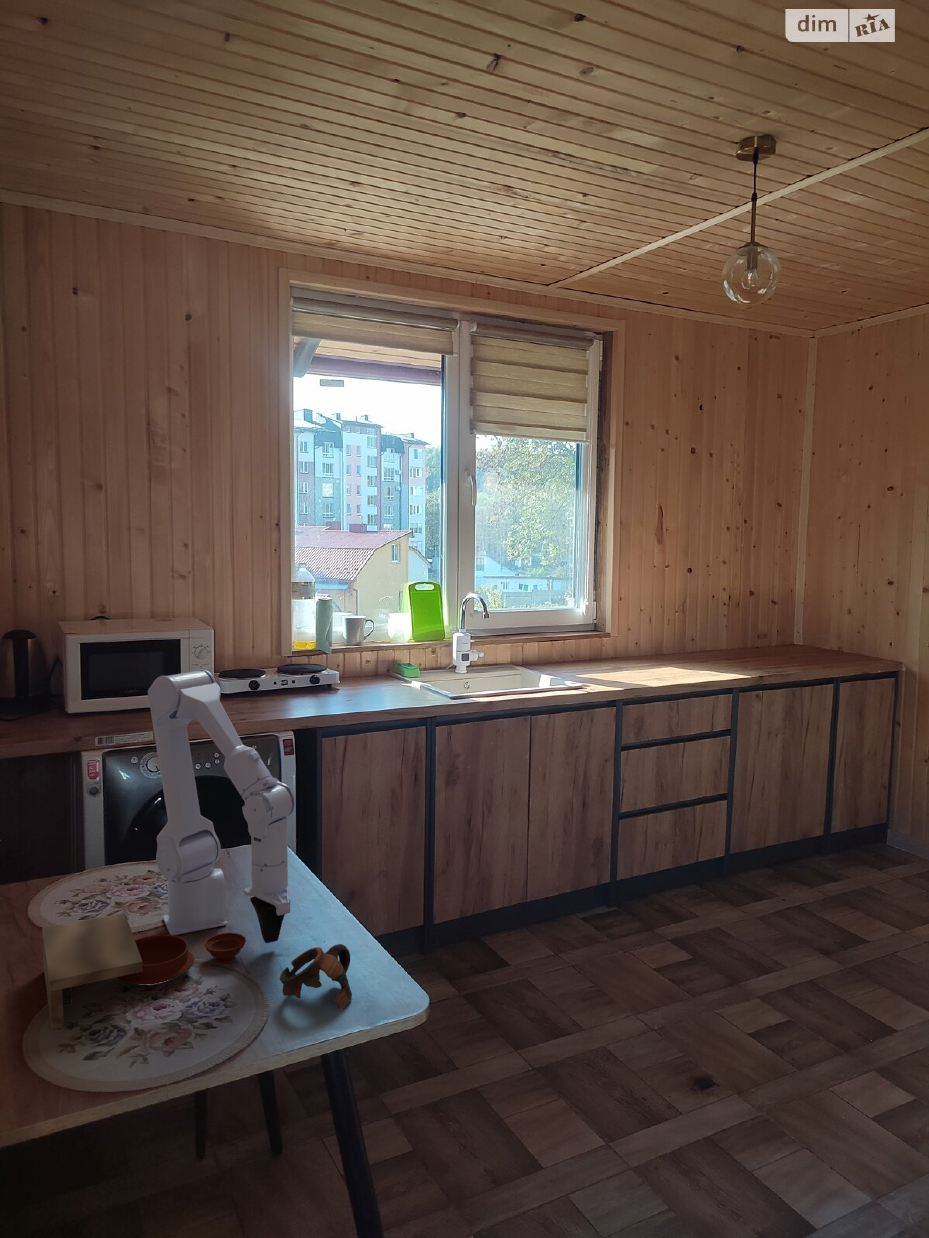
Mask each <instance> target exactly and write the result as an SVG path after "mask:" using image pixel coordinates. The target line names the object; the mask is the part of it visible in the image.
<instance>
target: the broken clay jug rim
mask: <svg viewBox="0 0 929 1238" xmlns="http://www.w3.org/2000/svg"><path fill="white" fill-rule="evenodd" d="M290 963H291V966H292V967H293V968H292V969H291V970H290V968H289V967H285V968H284V969H283V970H282V972H281V973H280V976H279V981H280V982H281V983H282V994H283V996H285V997H291V996H295V997H296V998H297V999H299V1000H301V999H302V996H301V995H302V994H301V993H302V992H301V991H302V988H303V985H304V986H305V987H308V988H313V989H318V988H322V986H323V985H322V982H321V980H320V973H321V971H322V972H323V973H324V974H325V975H326V976H327V977H328V978H329V979H331V981H332V982H337V983H338V984H339V985H340V990H339V992H338V993H337V994H336V996H335V997H334V1002H335V1003H336V1004H337V1007H338V1009H345V1008H346V1007H347V1006H348V1005H349V1003H350V1001H351V1000H352V998H353V993H352V991H351V987H350V984H349V983H350V982H349V979H348V976H347V972H348V970H349V967H350V964H351V953H350V951H349V949H348V948H347V946H346V945H344V944H341V943H338V944H335V945H333V946H331V947H330V948H329V949H328V950H327V951H326V952H324V950H323V948H322V947H318V946H317V947H313V948H310V949H307V950H305V951H304V952H302V953H301V954H299V955H298V956H297V957H295V958H294V959H293V960H291V962H290ZM308 963H309V965H307V967H305V968H303V967H304V966H305V965H306V964H308ZM302 968H303V970H301V971H300V972H298V971H299V970H300V969H302ZM320 970H321V971H320ZM297 972H298V973H297ZM345 1006H346V1007H345ZM344 1007H345V1008H344Z"/></svg>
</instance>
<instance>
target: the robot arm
mask: <svg viewBox="0 0 929 1238" xmlns="http://www.w3.org/2000/svg"><path fill="white" fill-rule="evenodd" d="M221 692H222V690H221V687H220V686H219V684H218V683H217V681H216V679H215V677H214V675H213V674H212V673H211V672H210V671H209V670H208V669H205V668H203V669H202V668H201V669H197V670H194V671H187V672H183V673H178V674H170V675H160V676H158V677H157V678H155V680H154V681H153V682H152V684H151V685H150V687H149V688H148V690H147V695H148V703H149V709H150V714H151V715H150V716H151V721H152V727H153V734H154V741H155V747H156V753H157V759H158V764H159V765H158V766H159V772H160V778H161V783H162V791H163V796H164V804H165V808H166V809H165V810H166V814H167V815H166V816H167V822H166V824H165V826H163V828H162V829H161V830H160V832H159V833H158V835H157V836H156V844H157V849H156V856H155V859H156V860H155V861H156V865H157V869H158V871H159V872H160V873H161V875H162V876H163V878H164V879H166V880H167V903H168V904H167V906H168V907H167V908H168V909H167V910H168V914H164V915H163V916H162V919H163V922H164V924H165V927H166V928H167V930H168V932H169V935H174V936H178V935H183V934H188V933H192V932H197V931H198V932H199V931H202V930H208V929H213V928H217V927H222V926H226V925H228V921H227V899H226V898H227V896H226V892H227V891H226V890H227V889H226V880H225V875H224V872H223V869H222V868H219V867H218V868H216V867H215V863H216V862H217V861H218V860H219V859H220V856H221V851H222V848H221V843H220V840H219V837H218V836H217V833H216V832H215V828H214V823H213V822H212V821H211V820H209V819H208V818H206V817H204V816H203V815H201V810H200V804H199V803H200V802H199V797H198V789H197V783H196V779H195V778H196V777H195V772H194V764H193V760H192V753H191V746H190V740H189V733H188V725H189V724H190V723H191V721H196V722H198V723H199V724H200V725H201V727H202V728H203V730H205V732H206V733H207V735H208V736H209V737H210V739H211V740H212V741H213V743H214V744H215V746H216V747H217V748H218V749H219V750H220V752H221V753H222V755H223V756H224V764H223V769H224V771H225V773H226V775H228V778H229V779H230V781H231V783H232V785H234V788H236V791H237V792H238V793H239V796H241V799H243V801H244V805H243V806H241V808H242V809H241V810H242V814H243V818H244V819H245V821H246V823H247V826H248V827H247V832H248V833H249V837H251V838H250V842H251V843H250V844H251V847H250V848H251V849H250V850H251V854H250V855H251V873H250V874H251V883H250V887H247V888H244V895H246V897H249V898H250V899H249V900H250V901H249V902H250V903H251V905H252V906H253V909H254V910H255V914H256V917H257V920H258V923H259V927H260V933H261V936H262V939H263V942H264V943H265V944H270V943H275V942H278V941H279V937H280V934H281V929H282V925H283V921H284V918H285V916H286V915H288V914H291V899H290V898H289V896H290V895H289V894H290V884H289V877H288V876H289V872H288V870H289V865H288V862H289V860H288V857H289V856H288V855H289V854H288V817H290V815H292V813H293V812H294V810H295V806H296V805H295V804H296V803H295V802H296V800H295V797H294V794H293V791H292V790H291V787H289V785H288V784H285V783H284V782H281V781H280V780H279V779H278V778H276V777H273V776H272V774H271V772H270V770H269V769H268V768H267V766H266V765H265V763H264V762H263V760H262V758H261V756H260V754H259V752H258V751H257V750H256V749H255V748H253V747H251V746H250V747H249V746H247V745H244V744H243V742H242V740H241V738H240V736H239V734H238V733H237V730H236V729H235V727H234V724H233V723H232V721H231V719H230V718H229V716H228V713H227V712H226V710H225V708H224V706H223V705H222V703H221Z"/></svg>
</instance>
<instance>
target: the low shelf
mask: <svg viewBox="0 0 929 1238" xmlns="http://www.w3.org/2000/svg"><path fill="white" fill-rule="evenodd" d="M41 932H42V933H41V934H42V956H43V975H44V980H45V981H44V982H45V988H46V989H45V990H46V999H47V1005H48V1013H49V1019H50V1027H51V1030H57V1029H61V1028H63V1027H65V1026H64V1008H63V1007H65V1006H70V1005H72V1004H73V1001H72V1000H73V999H72V987H77V986H83V985H86V984H91V983H96V982H100V981H105V980H109V979H114V978H116V977H120V976H124V975H129V974H133V973H138V972H143V967H142V959H141V956H140V954H139V951H138V948H137V945H136V943H135V940H136V939H135V937H134V934H133V932H132V929H131V926H130V924H129V921H128V918H127V916H126V913H125V912H121V913H117V914H112V915H106V916H102V917H96V918H91V919H85V920H80V921H75V922H69V923H63V924H58V925H54V926H47V927H42V928H41Z"/></svg>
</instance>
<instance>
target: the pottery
mask: <svg viewBox="0 0 929 1238" xmlns="http://www.w3.org/2000/svg"><path fill="white" fill-rule="evenodd" d="M134 940H135V943H136V945H137V948H138V951H139V954H140V956H141V959H142V967H143V972H138V973H133V974H129V975H124V976H120V977H115V978H116V979H117V980H119V981H121V982H123V983H126V984H131V985H139V984H154V983H159V982H164V981H167V980H169V981H171V980H172V979H175V978H178V977H180V976H181V975H183V974H185V973H187V972H188V971H189V970H190V969H192V967H193V965H194V962H195V956H194V954H193V953H192V952H191V950H189V948H190V947H189V943H188V941H187V940H186V939H185V938H183V937H180V936H178V935H170V934H154V935H149V936H145V937H140V938H137V939H134ZM246 942H247V939H246V937H245V936H244V935H242V934H241V933H237V932H223V933H217V934H214V935H213V936H211V937H209V938H207V939H206V940H205V942H204V943H203V944H204V948H205V949H206V951H207V953H209V954H210V955H211V956H212V957H213V958H215V961H216V962H217V963H218V962H219V963H218V964H229V963H232V962H233V961H235V960H236V956H237V955H239V953H240V952H241V950H242V949H243V948H244V946H245V944H246ZM170 979H171V980H170ZM167 982H168V981H167Z"/></svg>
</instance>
